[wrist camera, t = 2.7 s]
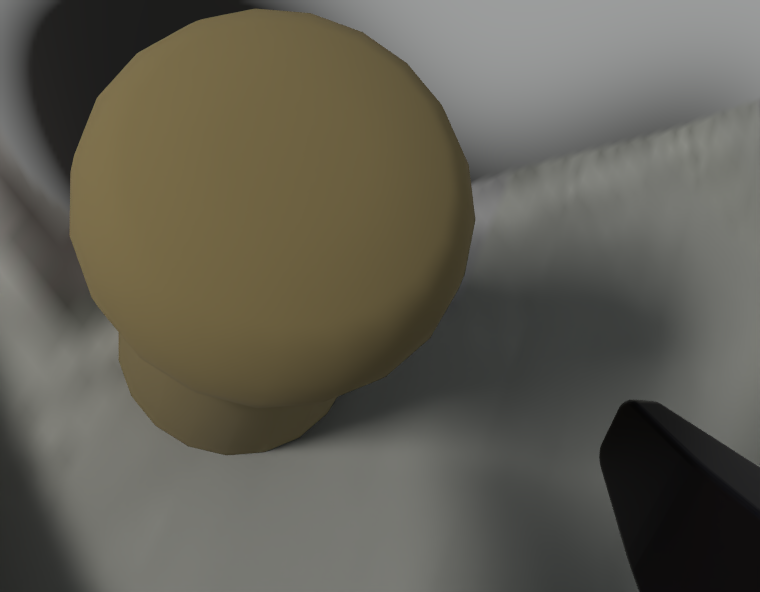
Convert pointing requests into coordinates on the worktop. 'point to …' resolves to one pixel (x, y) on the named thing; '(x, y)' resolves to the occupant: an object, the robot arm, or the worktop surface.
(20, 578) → the worktop surface
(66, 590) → the worktop surface
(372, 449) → the worktop surface
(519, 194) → the worktop surface
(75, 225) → the cork
